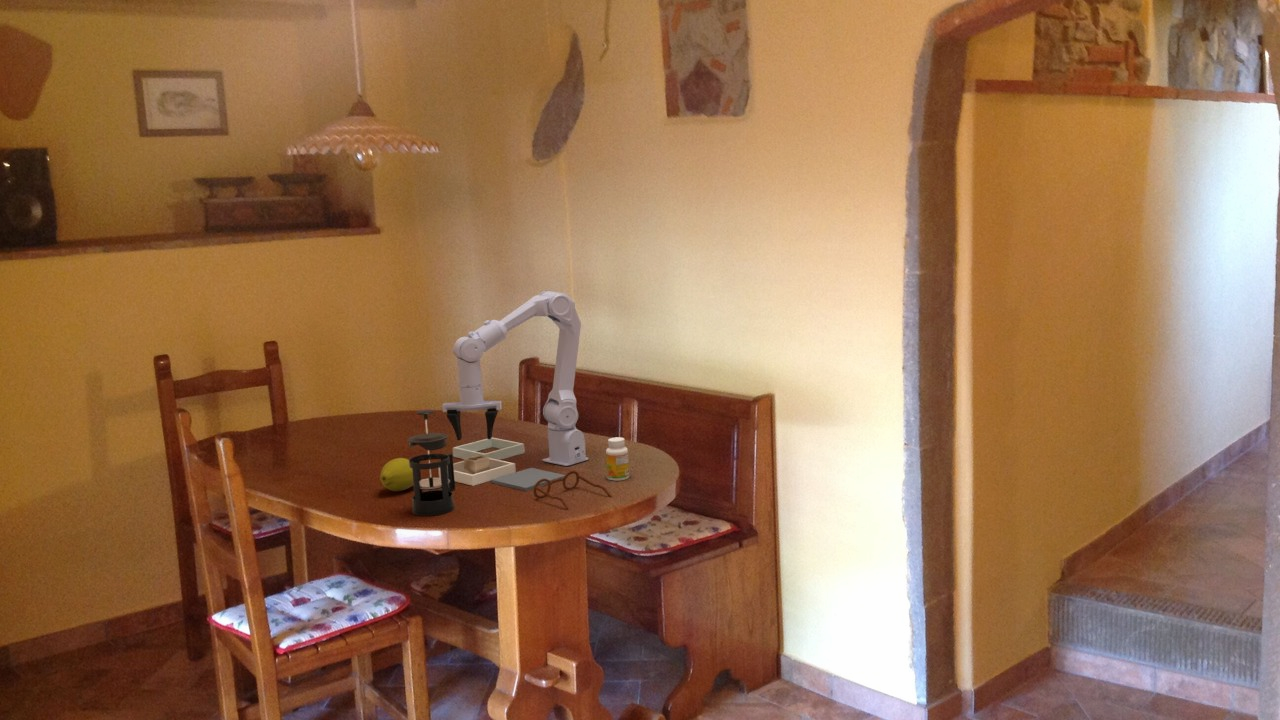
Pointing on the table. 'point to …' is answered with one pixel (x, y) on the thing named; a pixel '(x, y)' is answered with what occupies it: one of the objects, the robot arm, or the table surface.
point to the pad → (526, 479)
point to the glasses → (564, 487)
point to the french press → (435, 499)
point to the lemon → (397, 475)
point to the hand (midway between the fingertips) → (474, 438)
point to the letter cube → (476, 464)
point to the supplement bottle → (617, 459)
